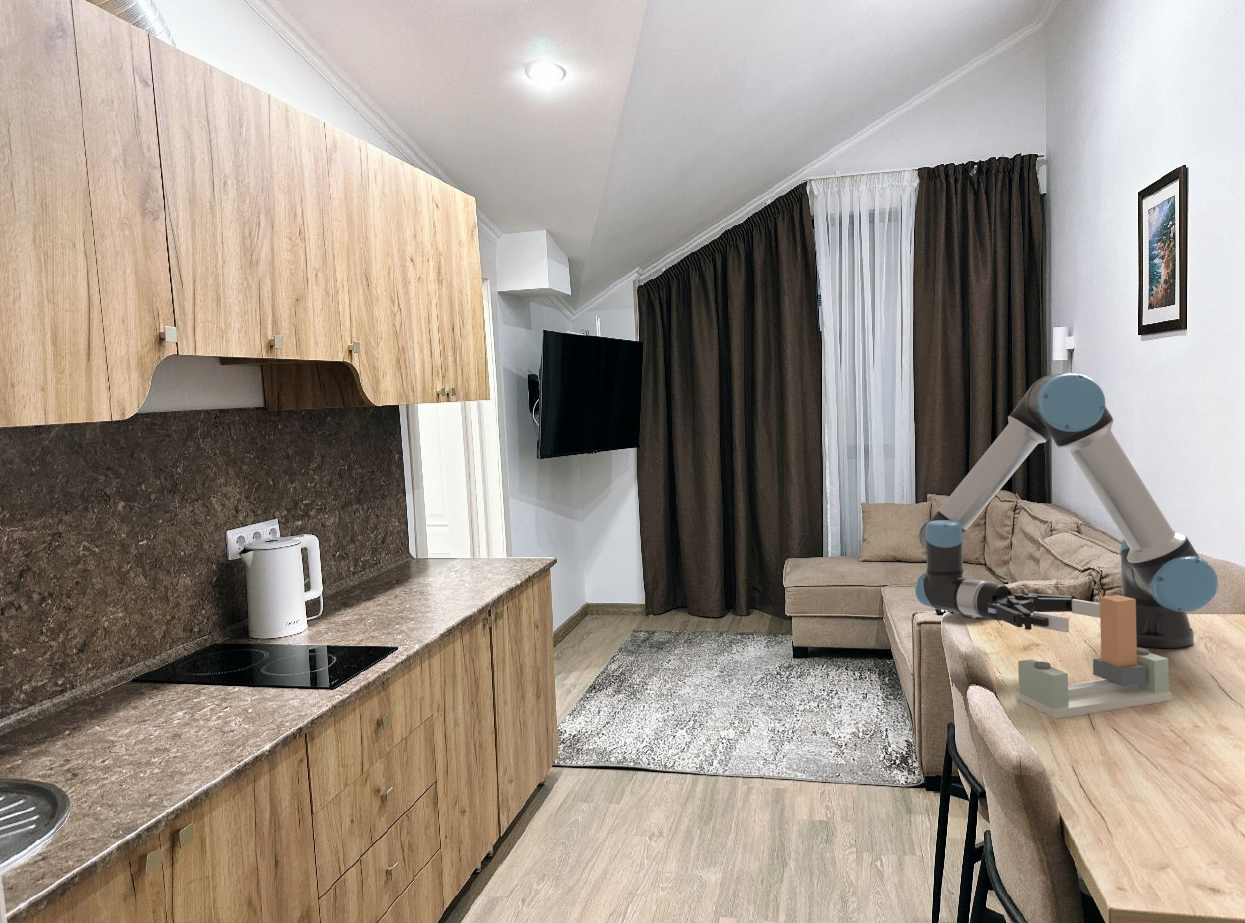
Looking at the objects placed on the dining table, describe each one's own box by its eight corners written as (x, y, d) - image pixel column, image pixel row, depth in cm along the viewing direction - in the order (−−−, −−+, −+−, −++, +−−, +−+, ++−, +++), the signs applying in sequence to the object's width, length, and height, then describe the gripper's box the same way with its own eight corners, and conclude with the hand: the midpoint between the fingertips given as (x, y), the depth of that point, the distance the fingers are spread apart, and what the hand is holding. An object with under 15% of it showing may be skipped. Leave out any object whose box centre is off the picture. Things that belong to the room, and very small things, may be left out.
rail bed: (1127, 683, 163) (1126, 668, 162) (1171, 700, 153) (1171, 684, 153) (1017, 699, 158) (1017, 684, 157) (1056, 718, 148) (1055, 701, 148)
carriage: (1115, 671, 160) (1114, 592, 159) (1146, 682, 153) (1144, 600, 152) (1093, 674, 159) (1091, 595, 158) (1122, 686, 152) (1121, 603, 151)
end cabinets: (1129, 676, 162) (1128, 642, 162) (1168, 691, 153) (1168, 655, 153) (1019, 692, 157) (1018, 657, 156) (1053, 709, 148) (1052, 672, 148)
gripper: (1020, 607, 185) (1122, 625, 167) (948, 629, 171) (1050, 651, 154) (1019, 573, 184) (1121, 587, 167) (947, 592, 171) (1049, 610, 153)
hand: (1087, 618), depth 160 cm, fingers open, 13 cm apart
